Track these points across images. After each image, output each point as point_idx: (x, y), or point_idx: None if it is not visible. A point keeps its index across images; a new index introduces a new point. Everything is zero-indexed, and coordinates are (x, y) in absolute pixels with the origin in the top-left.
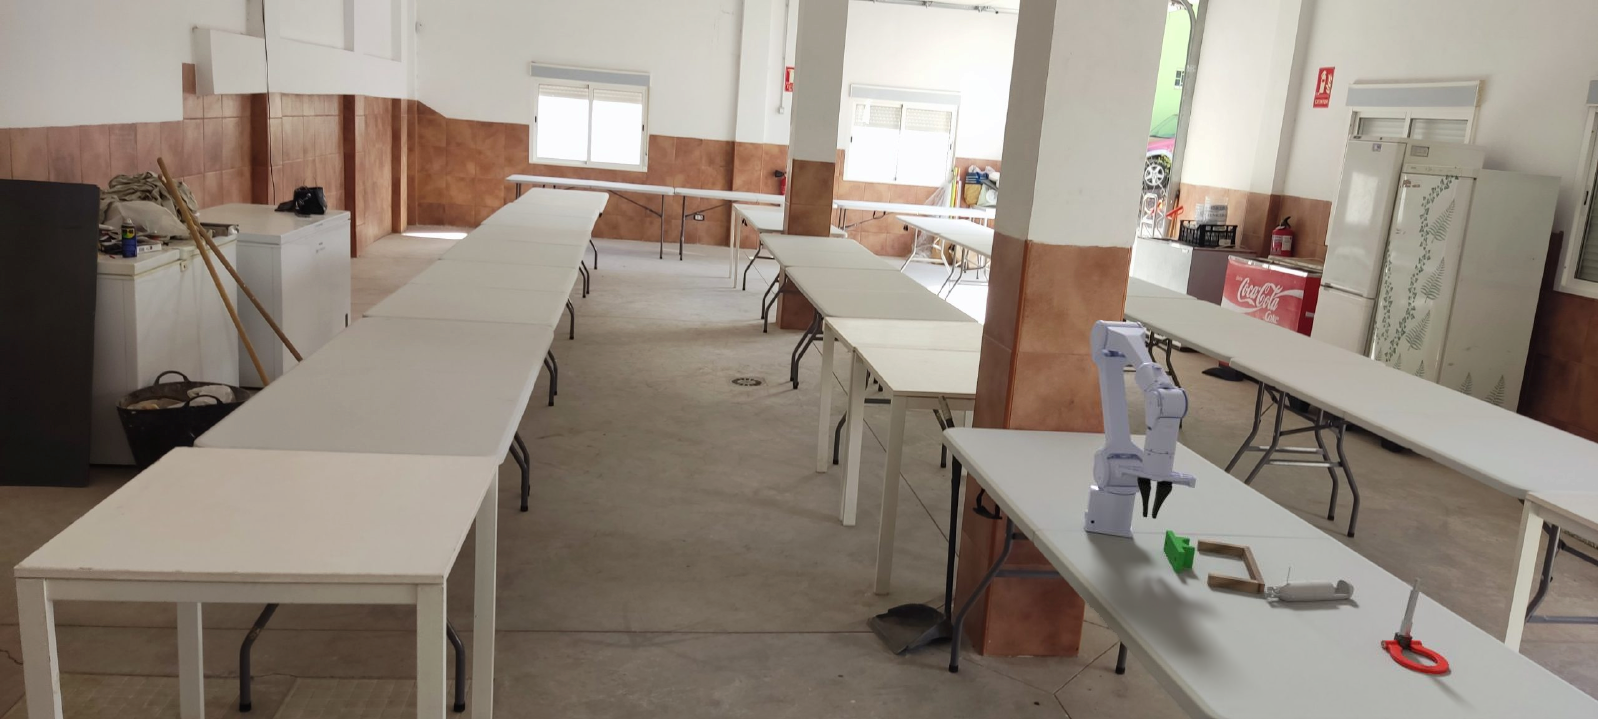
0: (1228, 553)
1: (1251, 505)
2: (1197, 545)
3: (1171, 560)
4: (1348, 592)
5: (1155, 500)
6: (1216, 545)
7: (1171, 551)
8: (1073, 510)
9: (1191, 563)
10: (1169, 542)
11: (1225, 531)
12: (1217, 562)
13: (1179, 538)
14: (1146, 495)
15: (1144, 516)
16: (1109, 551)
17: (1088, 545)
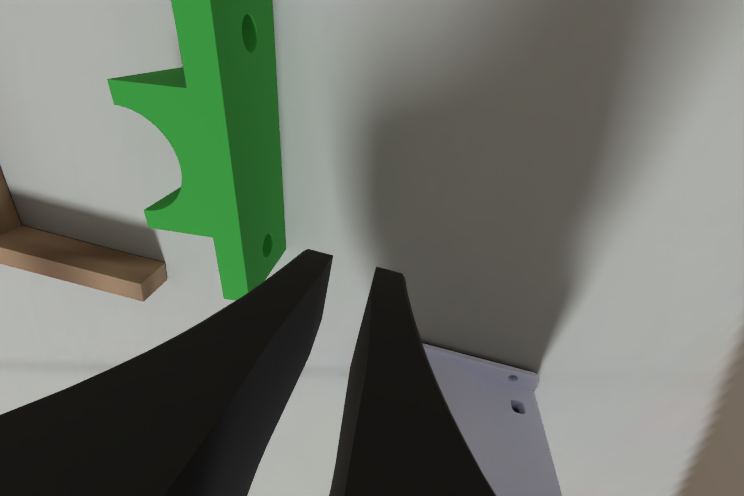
0: (60, 239)
1: None
2: (159, 282)
3: (270, 107)
4: None
5: (264, 413)
6: (83, 263)
7: (257, 144)
8: None
9: (177, 68)
10: (253, 213)
11: None
12: (92, 164)
13: (194, 211)
14: (406, 470)
15: (397, 272)
16: (530, 208)
17: (603, 259)
